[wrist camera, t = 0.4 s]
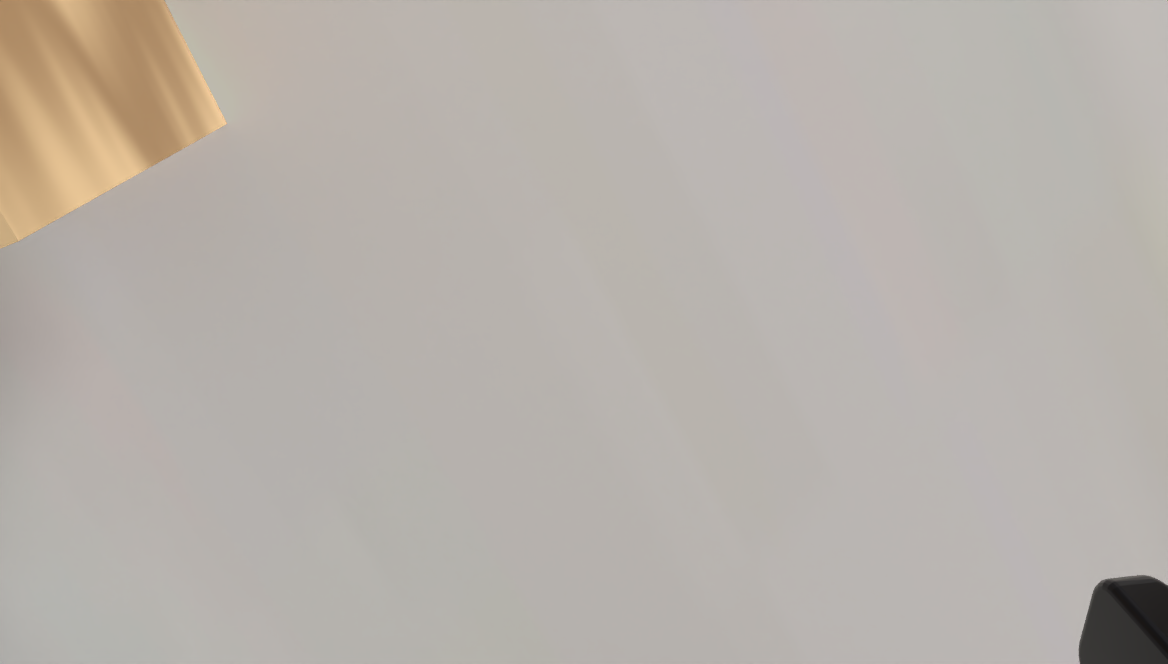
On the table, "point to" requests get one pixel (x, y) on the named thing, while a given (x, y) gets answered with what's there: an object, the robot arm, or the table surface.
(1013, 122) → the table surface
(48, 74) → the peg
